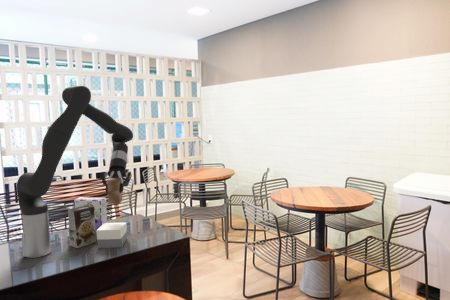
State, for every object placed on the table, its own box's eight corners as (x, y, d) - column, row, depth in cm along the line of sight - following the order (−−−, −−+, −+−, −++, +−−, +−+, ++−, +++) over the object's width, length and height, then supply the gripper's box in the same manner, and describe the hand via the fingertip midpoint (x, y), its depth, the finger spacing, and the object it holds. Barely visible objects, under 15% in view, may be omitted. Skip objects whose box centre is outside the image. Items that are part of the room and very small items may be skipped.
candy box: (75, 233, 168) (72, 199, 166) (82, 229, 174) (79, 196, 172) (102, 234, 166) (100, 200, 164) (108, 230, 172) (106, 197, 170)
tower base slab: (97, 249, 149) (97, 239, 148) (104, 240, 158) (103, 231, 158) (122, 247, 149) (121, 238, 149) (126, 239, 159) (126, 230, 159)
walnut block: (108, 204, 158) (107, 179, 157) (111, 201, 163) (109, 177, 162) (119, 203, 159) (118, 179, 158) (122, 200, 164) (121, 177, 162)
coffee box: (77, 248, 148) (75, 211, 147) (69, 245, 152) (66, 208, 151) (96, 242, 156) (94, 206, 154) (88, 239, 160) (86, 204, 158)
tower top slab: (96, 239, 148) (96, 230, 148) (104, 231, 158) (104, 223, 158) (120, 238, 149) (120, 229, 148) (126, 231, 158) (126, 222, 158)
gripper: (101, 157, 166) (95, 188, 155) (132, 156, 167) (128, 187, 156) (104, 167, 172) (99, 197, 161) (134, 166, 173) (131, 196, 162)
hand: (114, 192), depth 159 cm, fingers closed on walnut block, 5 cm apart
